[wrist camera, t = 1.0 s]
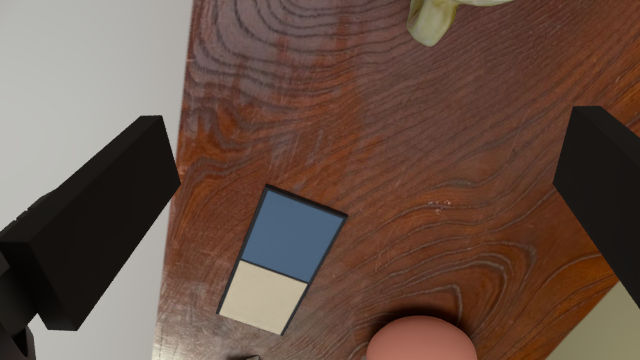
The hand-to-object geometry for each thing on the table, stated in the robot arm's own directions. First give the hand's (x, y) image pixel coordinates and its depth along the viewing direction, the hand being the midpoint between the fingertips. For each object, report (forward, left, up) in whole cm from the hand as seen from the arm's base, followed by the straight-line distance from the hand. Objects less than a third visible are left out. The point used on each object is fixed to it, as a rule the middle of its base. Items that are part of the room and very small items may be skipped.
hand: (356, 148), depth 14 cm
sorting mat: (+14, -23, -21) cm, 35 cm away
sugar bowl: (+34, -18, -22) cm, 44 cm away
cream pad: (+17, -28, -21) cm, 39 cm away
